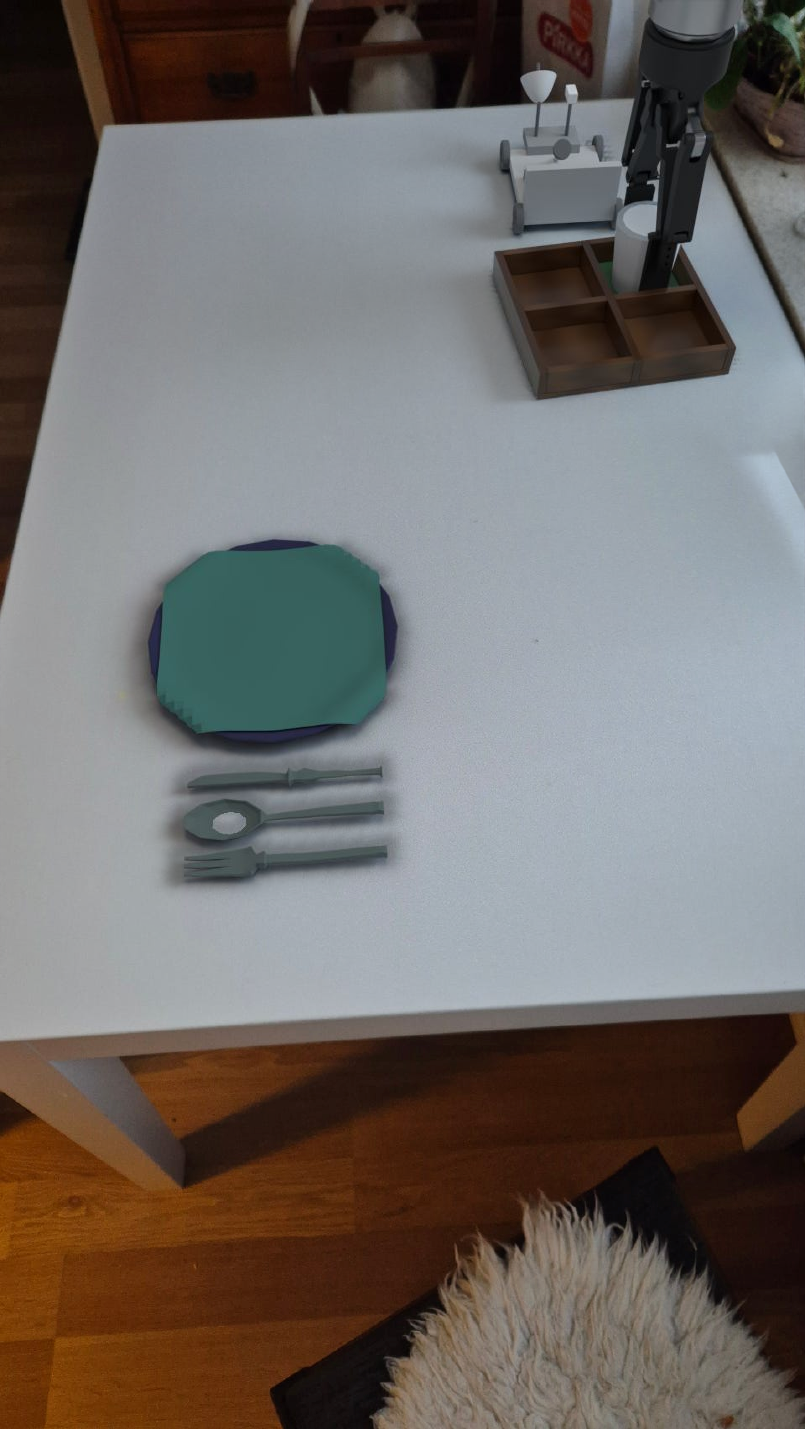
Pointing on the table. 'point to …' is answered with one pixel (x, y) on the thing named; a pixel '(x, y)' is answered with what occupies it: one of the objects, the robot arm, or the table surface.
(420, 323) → the table surface
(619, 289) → the white cylinder canister
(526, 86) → the toy rover
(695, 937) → the table surface
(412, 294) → the table surface
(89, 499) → the table surface
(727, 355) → the compartment tray
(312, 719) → the cutlery set
